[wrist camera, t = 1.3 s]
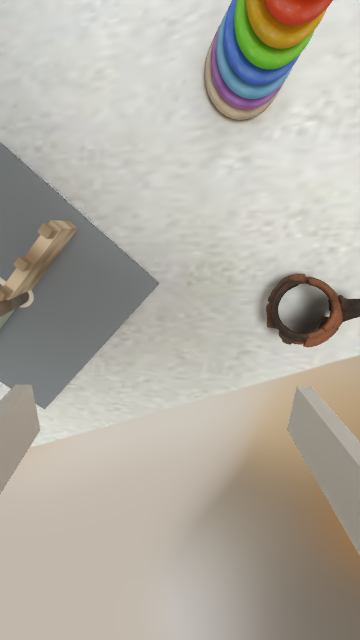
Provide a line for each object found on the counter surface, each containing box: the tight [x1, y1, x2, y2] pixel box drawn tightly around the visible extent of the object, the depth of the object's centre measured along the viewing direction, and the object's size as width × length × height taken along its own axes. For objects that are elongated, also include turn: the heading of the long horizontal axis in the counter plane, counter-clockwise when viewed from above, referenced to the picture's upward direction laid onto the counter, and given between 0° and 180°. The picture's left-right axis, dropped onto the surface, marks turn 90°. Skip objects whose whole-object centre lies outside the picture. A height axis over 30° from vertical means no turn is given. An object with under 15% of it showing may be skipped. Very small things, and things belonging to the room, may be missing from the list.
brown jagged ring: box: [266, 274, 360, 347], centre depth 34 cm, size 12×10×8 cm
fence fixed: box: [0, 220, 78, 317], centre depth 29 cm, size 13×2×8 cm, turn 137°
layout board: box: [0, 143, 159, 409], centre depth 34 cm, size 24×26×1 cm
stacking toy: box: [205, 0, 333, 120], centre depth 18 cm, size 8×8×19 cm
